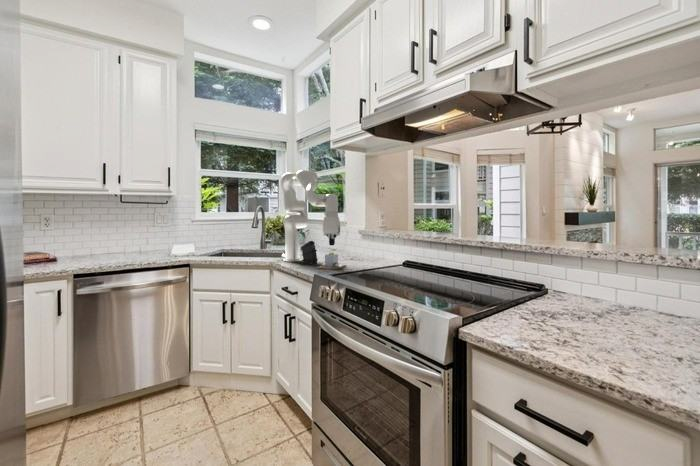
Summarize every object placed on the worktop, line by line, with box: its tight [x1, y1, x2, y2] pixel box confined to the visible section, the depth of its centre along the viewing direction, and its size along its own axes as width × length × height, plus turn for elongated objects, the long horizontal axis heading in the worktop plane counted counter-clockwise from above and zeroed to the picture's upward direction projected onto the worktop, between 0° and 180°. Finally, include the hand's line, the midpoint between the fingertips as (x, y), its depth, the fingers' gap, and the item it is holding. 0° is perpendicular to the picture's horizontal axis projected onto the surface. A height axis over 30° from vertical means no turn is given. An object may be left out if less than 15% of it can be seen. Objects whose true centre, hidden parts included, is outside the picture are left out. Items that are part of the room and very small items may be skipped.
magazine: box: [299, 240, 319, 266], centre depth 214 cm, size 4×13×15 cm, turn 46°
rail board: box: [316, 261, 347, 271], centre depth 200 cm, size 12×14×2 cm
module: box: [324, 251, 339, 267], centre depth 200 cm, size 5×7×8 cm
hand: (331, 245), depth 199 cm, fingers closed
